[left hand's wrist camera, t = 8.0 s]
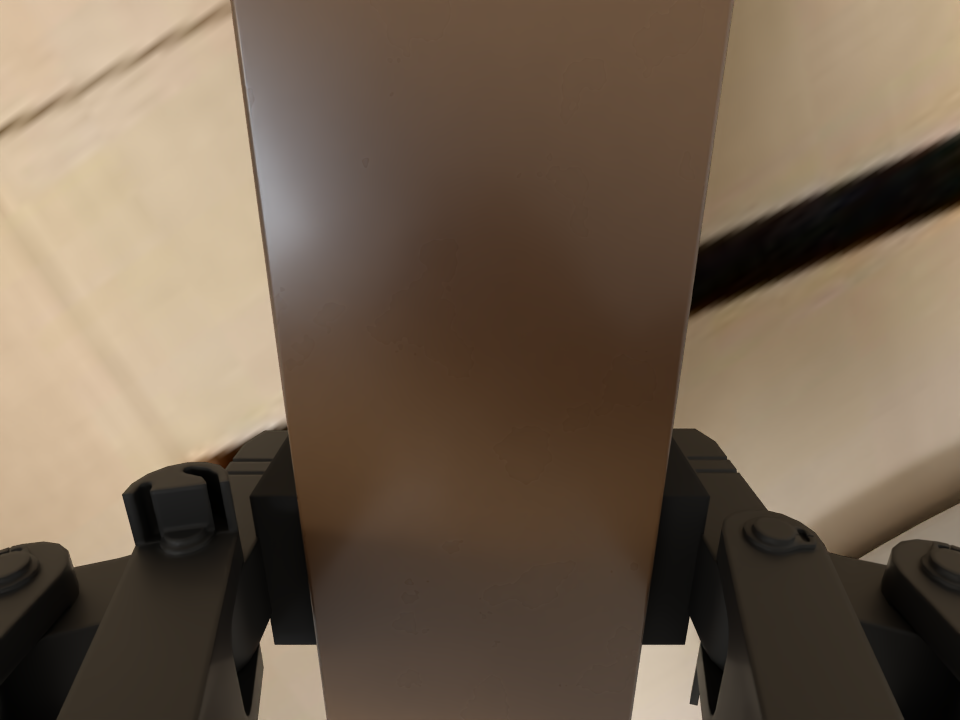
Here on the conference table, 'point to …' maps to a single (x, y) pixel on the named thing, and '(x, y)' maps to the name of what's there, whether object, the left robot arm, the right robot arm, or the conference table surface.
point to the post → (480, 330)
